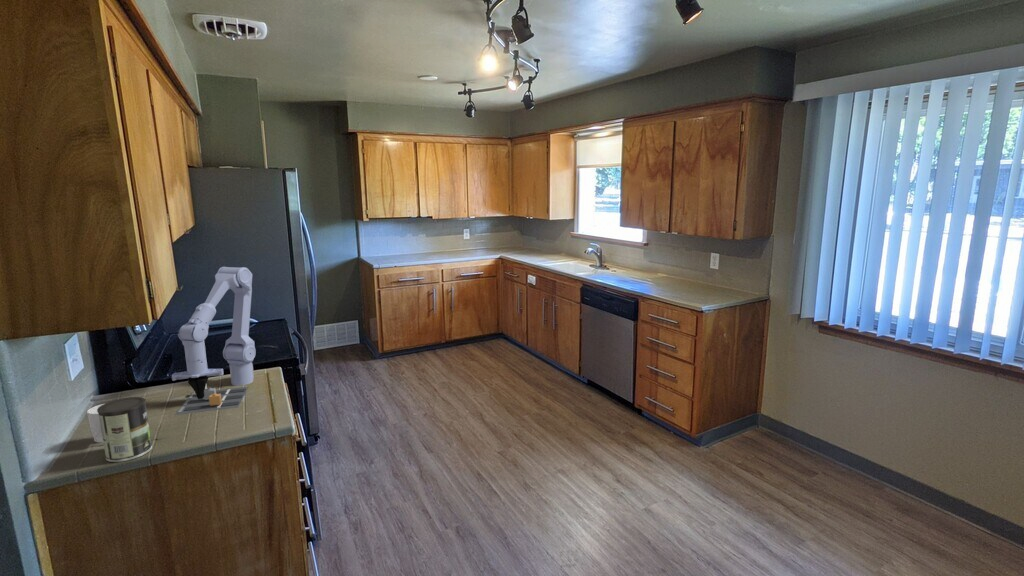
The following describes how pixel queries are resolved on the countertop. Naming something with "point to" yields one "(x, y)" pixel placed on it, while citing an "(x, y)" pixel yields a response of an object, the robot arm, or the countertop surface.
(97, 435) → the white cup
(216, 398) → the orange slider knob
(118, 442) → the coffee can
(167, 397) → the countertop surface
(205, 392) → the cube with peg
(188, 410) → the control board
